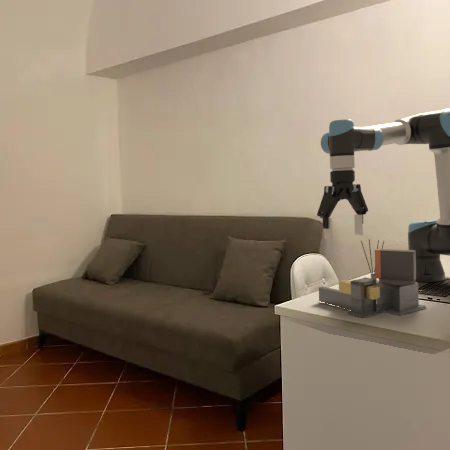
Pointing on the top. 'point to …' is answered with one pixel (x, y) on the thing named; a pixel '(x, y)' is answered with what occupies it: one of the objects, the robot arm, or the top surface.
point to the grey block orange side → (395, 267)
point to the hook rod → (369, 290)
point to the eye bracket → (352, 298)
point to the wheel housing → (399, 299)
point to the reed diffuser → (371, 261)
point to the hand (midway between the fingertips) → (343, 236)
